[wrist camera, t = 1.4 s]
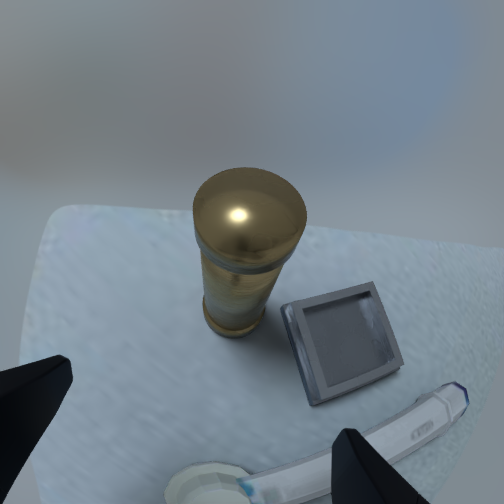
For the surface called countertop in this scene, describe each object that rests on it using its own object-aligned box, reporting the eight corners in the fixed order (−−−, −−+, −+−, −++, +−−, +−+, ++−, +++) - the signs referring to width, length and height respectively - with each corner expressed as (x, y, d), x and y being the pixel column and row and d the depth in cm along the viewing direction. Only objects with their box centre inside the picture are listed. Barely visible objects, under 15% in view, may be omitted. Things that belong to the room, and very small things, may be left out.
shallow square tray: (309, 405, 20) (318, 404, 18) (280, 308, 24) (286, 299, 22) (394, 370, 22) (408, 366, 20) (363, 287, 25) (374, 277, 24)
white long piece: (475, 419, 16) (178, 557, 8) (426, 427, 21) (176, 520, 13) (464, 369, 18) (152, 484, 10) (415, 385, 24) (158, 463, 16)
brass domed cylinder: (210, 343, 21) (203, 267, 10) (198, 288, 24) (186, 174, 13) (269, 330, 23) (323, 246, 11) (253, 278, 25) (285, 163, 14)
